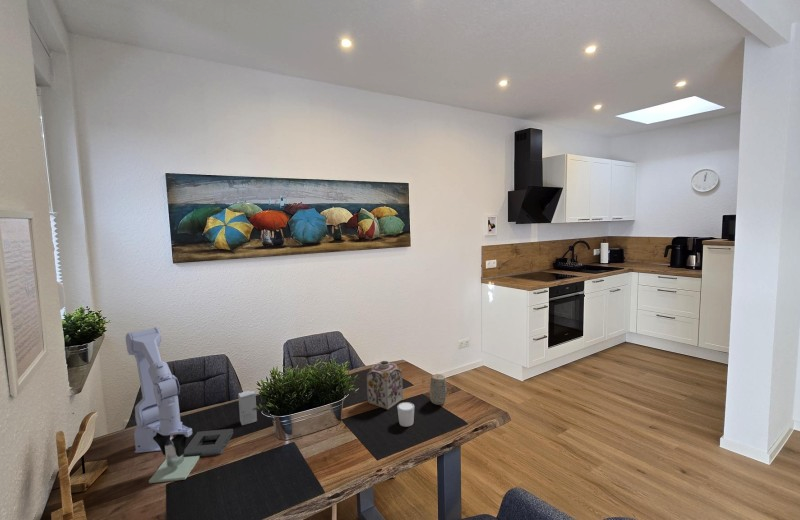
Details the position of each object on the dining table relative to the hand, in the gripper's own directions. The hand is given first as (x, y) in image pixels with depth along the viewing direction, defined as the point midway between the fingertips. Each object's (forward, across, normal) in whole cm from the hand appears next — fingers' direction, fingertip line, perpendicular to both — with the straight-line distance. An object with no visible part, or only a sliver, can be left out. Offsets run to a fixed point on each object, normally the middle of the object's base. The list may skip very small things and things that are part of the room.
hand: (173, 454), depth 126 cm
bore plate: (+6, -2, -14) cm, 15 cm away
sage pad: (+6, 0, 0) cm, 6 cm away
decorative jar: (+6, -58, -57) cm, 81 cm away
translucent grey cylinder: (+3, 0, 0) cm, 3 cm away
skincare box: (+6, -6, -32) cm, 33 cm away
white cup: (+6, -70, -41) cm, 82 cm away
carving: (+6, -81, -59) cm, 101 cm away
